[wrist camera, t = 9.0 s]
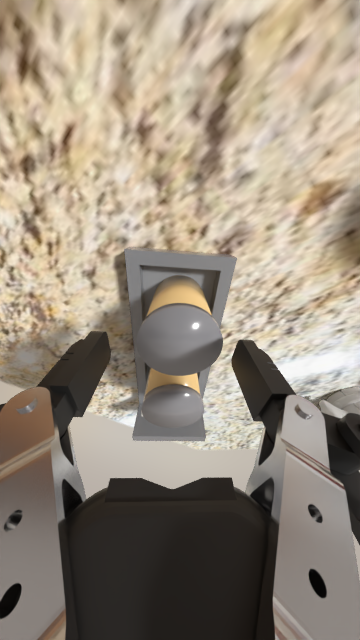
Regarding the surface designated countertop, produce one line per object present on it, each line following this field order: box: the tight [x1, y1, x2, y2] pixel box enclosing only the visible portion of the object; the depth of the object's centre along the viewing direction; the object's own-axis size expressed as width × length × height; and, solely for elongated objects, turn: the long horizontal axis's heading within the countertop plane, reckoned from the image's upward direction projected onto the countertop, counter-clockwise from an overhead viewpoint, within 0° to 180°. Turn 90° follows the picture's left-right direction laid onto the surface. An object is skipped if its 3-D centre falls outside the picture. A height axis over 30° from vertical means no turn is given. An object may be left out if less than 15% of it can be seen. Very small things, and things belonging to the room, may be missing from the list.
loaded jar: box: [142, 368, 204, 428], centre depth 18 cm, size 6×6×8 cm
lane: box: [124, 247, 237, 441], centre depth 18 cm, size 24×10×6 cm, turn 176°
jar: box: [136, 275, 223, 376], centre depth 14 cm, size 6×6×8 cm
